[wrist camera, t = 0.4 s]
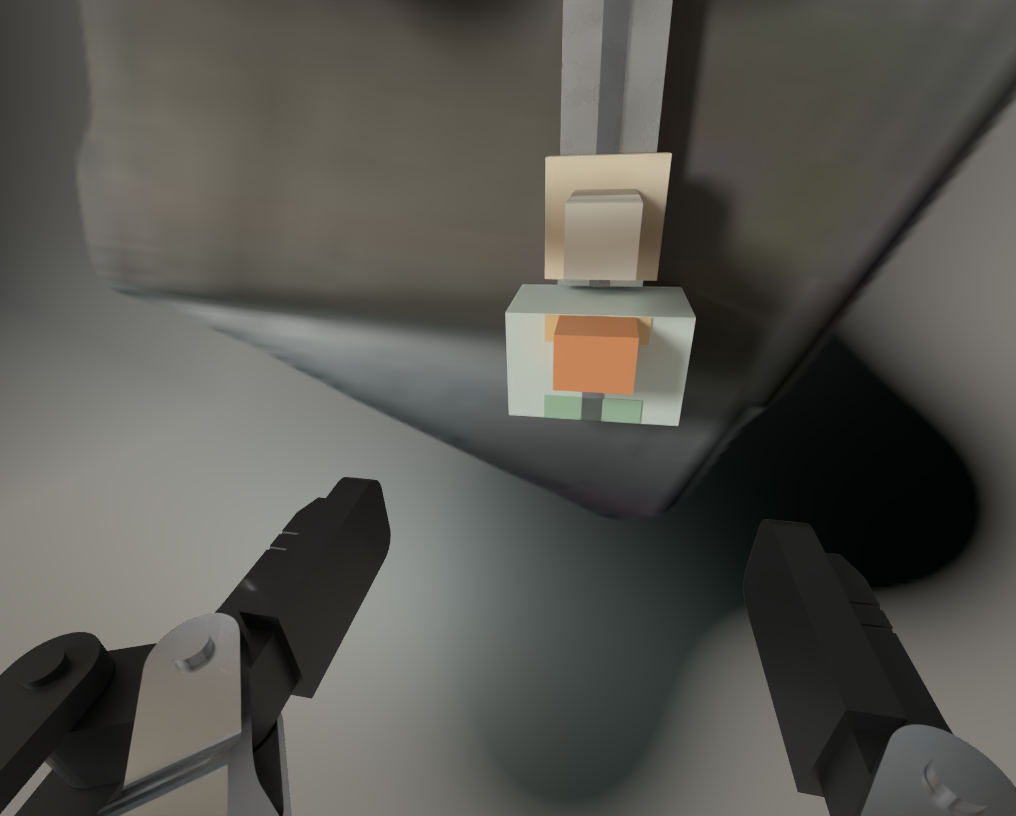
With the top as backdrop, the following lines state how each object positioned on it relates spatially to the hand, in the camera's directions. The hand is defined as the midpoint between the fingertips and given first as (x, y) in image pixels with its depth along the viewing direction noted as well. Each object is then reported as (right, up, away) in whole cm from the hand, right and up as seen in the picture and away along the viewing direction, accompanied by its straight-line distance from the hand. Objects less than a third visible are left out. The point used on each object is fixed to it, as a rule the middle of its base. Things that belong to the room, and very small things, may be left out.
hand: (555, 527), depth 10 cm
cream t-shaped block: (+4, +13, +16) cm, 21 cm away
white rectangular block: (+5, +8, +22) cm, 24 cm away
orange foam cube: (+4, +6, +16) cm, 17 cm away
